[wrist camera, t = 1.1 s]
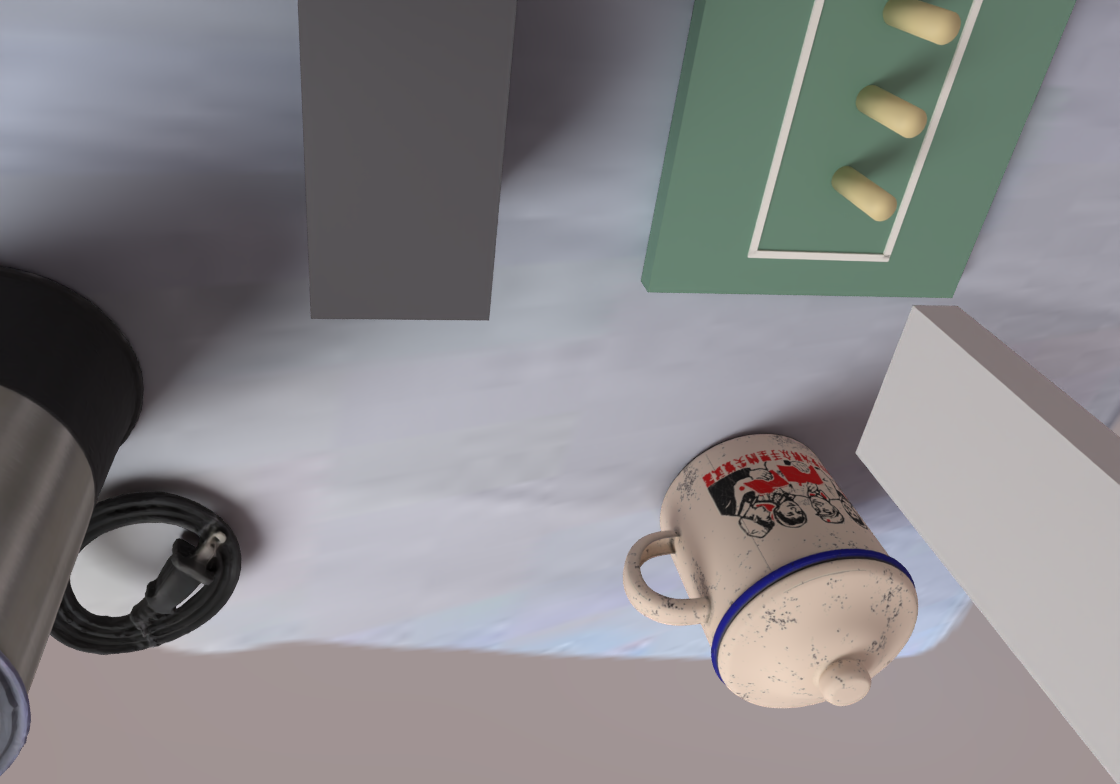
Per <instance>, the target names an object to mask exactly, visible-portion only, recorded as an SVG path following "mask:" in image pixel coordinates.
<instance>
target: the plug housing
mask: <svg viewBox="0 0 1120 784" xmlns="http://www.w3.org/2000/svg"><path fill="white" fill-rule="evenodd" d="M516 7H517V0H298V17H299V41H300V65H301V89H302V113H303V137H304V161H305V185H306V209H307V233H308V257H309V281H310V305H311V319H402V320H489V315H490V304H491V292H492V281H493V269H494V258H495V246H496V235H497V224H498V212H499V201H500V189H501V178H502V167H503V155H504V144H505V132H506V121H507V110H508V98H509V87H510V75H511V64H512V53H513V41H514V30H515V18H516Z"/></svg>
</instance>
